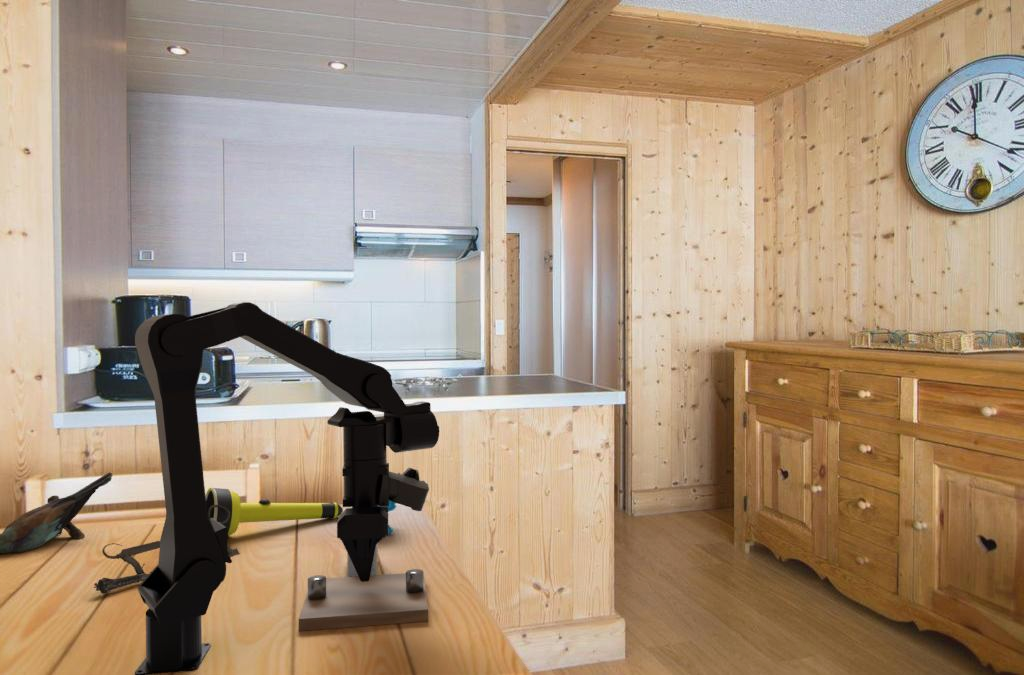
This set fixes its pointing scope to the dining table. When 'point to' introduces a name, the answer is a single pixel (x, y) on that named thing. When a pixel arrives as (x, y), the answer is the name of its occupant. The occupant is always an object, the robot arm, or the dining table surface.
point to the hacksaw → (110, 584)
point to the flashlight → (263, 509)
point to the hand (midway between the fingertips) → (366, 571)
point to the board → (364, 601)
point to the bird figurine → (48, 520)
